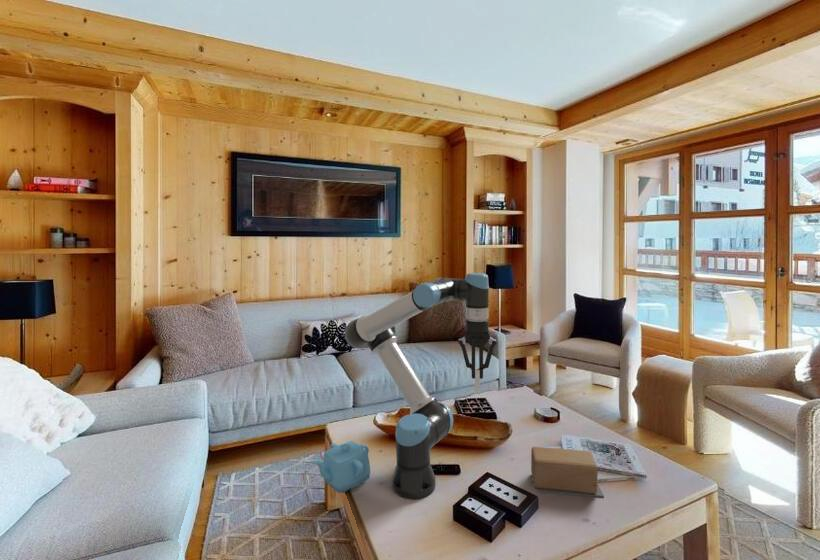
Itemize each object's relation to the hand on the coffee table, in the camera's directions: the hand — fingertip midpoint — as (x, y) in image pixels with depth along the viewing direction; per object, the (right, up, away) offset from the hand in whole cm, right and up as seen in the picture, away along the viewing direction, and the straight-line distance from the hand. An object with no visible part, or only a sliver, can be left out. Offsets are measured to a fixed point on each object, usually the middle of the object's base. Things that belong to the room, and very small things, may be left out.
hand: (477, 387), depth 132 cm
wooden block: (+20, -28, +3) cm, 35 cm away
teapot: (-47, -35, +4) cm, 59 cm away
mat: (+31, -34, +3) cm, 46 cm away
